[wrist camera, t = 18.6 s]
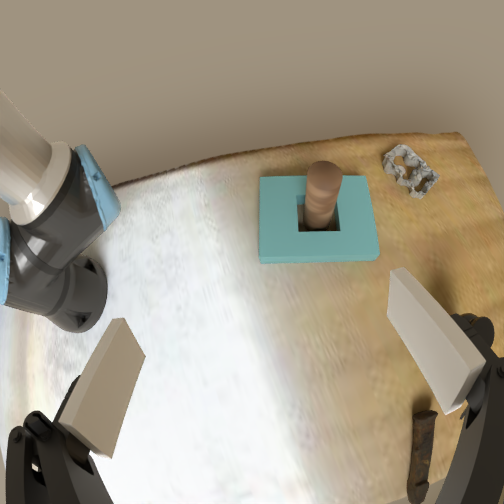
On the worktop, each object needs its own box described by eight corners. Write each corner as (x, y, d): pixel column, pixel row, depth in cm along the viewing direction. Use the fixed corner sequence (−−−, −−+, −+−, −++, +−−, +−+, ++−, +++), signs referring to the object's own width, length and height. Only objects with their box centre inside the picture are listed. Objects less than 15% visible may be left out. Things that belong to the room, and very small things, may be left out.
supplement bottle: (418, 359, 34) (460, 359, 23) (426, 317, 36) (468, 303, 25) (450, 364, 32) (495, 363, 21) (457, 324, 34) (501, 311, 23)
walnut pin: (303, 234, 43) (308, 189, 31) (302, 210, 45) (305, 160, 33) (330, 233, 43) (345, 189, 31) (328, 209, 44) (339, 160, 32)
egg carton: (376, 166, 47) (381, 152, 43) (397, 150, 47) (403, 137, 44) (415, 205, 43) (424, 193, 39) (435, 186, 44) (443, 175, 40)
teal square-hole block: (261, 263, 42) (259, 257, 40) (261, 186, 47) (259, 177, 44) (374, 260, 40) (379, 254, 37) (361, 185, 45) (365, 175, 42)
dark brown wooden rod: (409, 412, 31) (421, 418, 27) (429, 407, 31) (443, 412, 26) (394, 504, 25) (403, 515, 20) (414, 498, 24) (424, 508, 20)
